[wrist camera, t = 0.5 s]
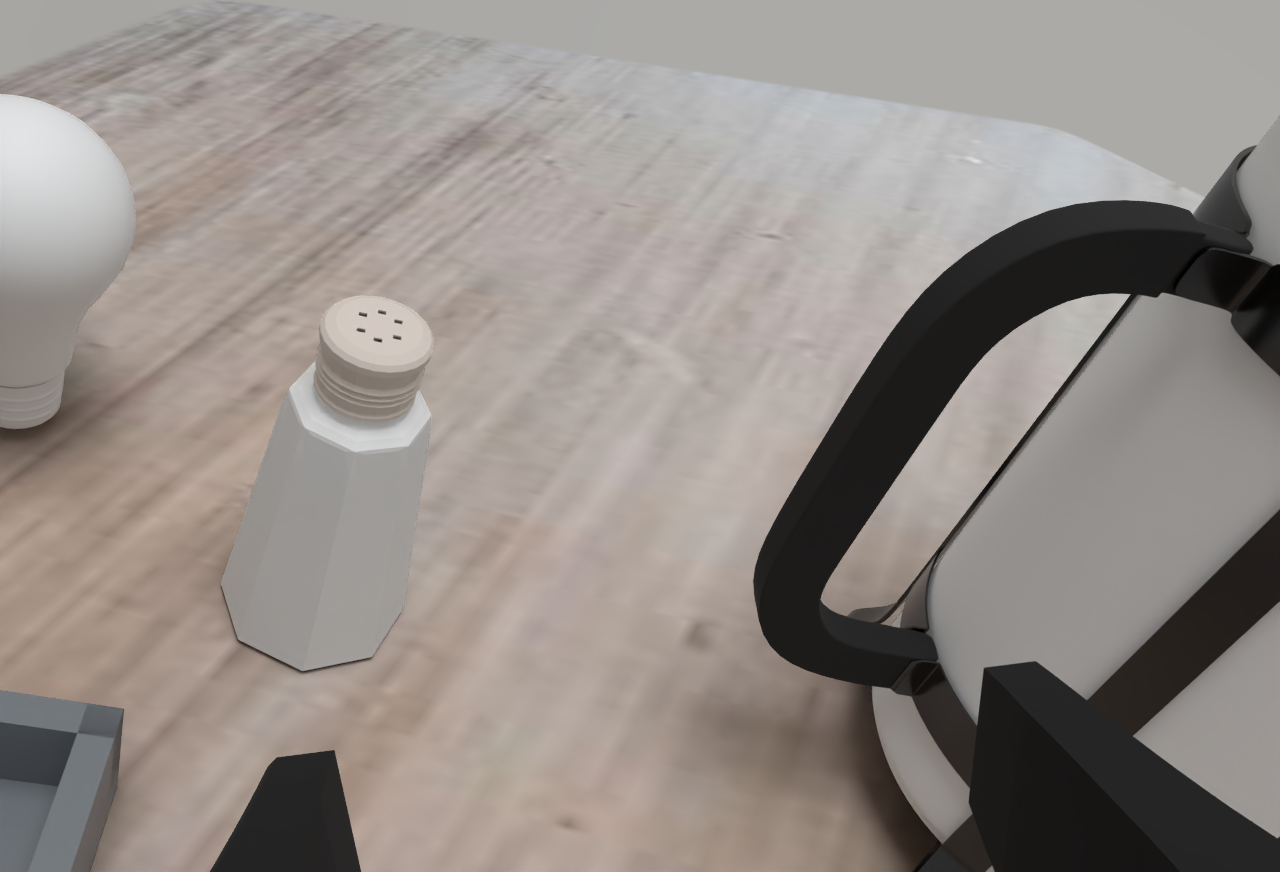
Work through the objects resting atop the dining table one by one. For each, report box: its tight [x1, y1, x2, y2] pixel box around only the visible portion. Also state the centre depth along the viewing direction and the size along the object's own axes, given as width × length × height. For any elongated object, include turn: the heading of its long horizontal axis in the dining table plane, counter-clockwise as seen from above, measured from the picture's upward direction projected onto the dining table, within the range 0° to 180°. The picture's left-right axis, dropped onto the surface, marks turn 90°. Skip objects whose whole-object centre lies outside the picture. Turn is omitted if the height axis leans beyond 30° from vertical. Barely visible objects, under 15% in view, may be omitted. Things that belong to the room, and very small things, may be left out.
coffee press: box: [753, 116, 1280, 872], centre depth 30 cm, size 17×16×30 cm
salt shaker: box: [221, 295, 435, 671], centre depth 33 cm, size 5×5×11 cm
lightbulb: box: [0, 94, 136, 429], centre depth 34 cm, size 6×6×11 cm
